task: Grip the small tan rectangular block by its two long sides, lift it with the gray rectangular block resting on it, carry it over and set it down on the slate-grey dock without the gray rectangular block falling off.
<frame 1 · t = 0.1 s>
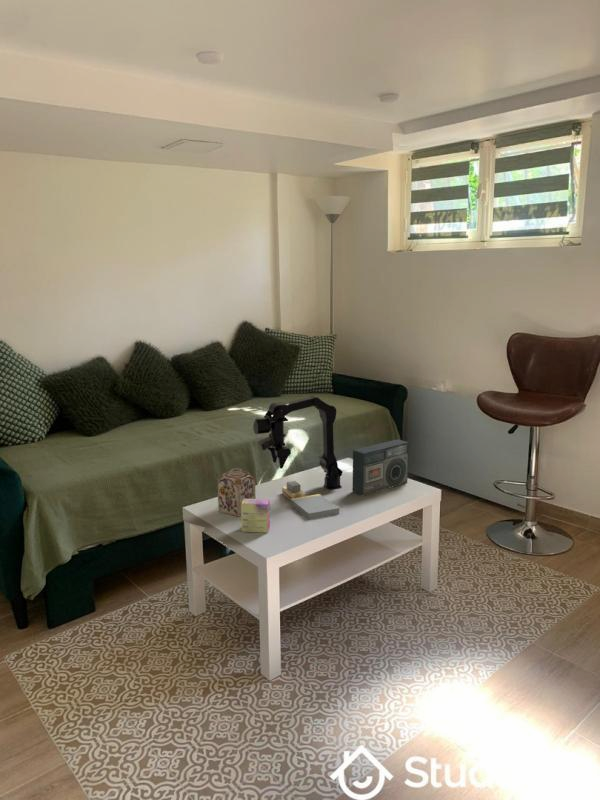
hand: (277, 465, 270), 14 cm above the table, fingers open, 9 cm apart
gray rectangular block: (293, 489, 271), point 3 cm above the table
box: (256, 530, 237), on the table
dock: (314, 508, 257), on the table
cassette player: (380, 487, 284), on the table
decorative jar: (237, 510, 257), on the table
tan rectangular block: (293, 497, 272), on the table
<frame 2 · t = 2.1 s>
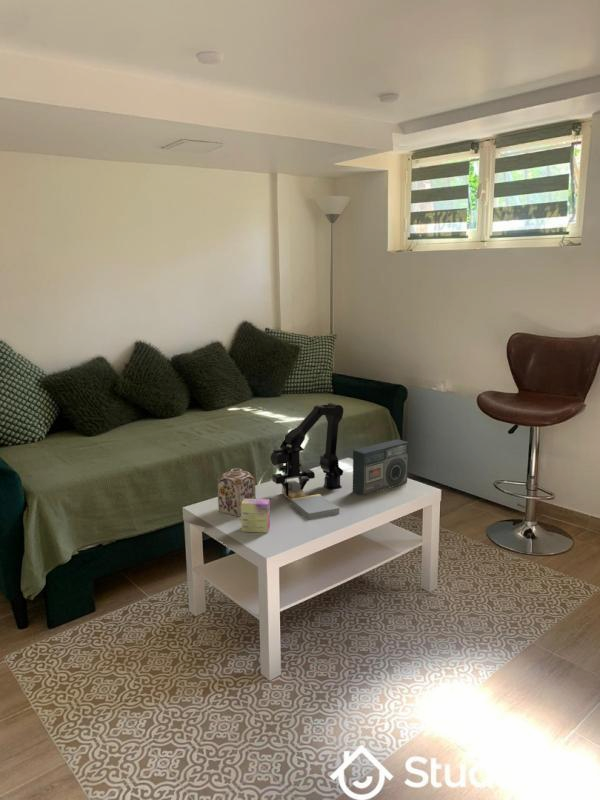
hand: (293, 494, 271), 1 cm above the table, fingers closed on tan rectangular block, 6 cm apart
gray rectangular block: (293, 489, 271), point 3 cm above the table, touching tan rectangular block
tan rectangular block: (293, 496, 272), on the table, touching gray rectangular block, gripper
everything else where it was.
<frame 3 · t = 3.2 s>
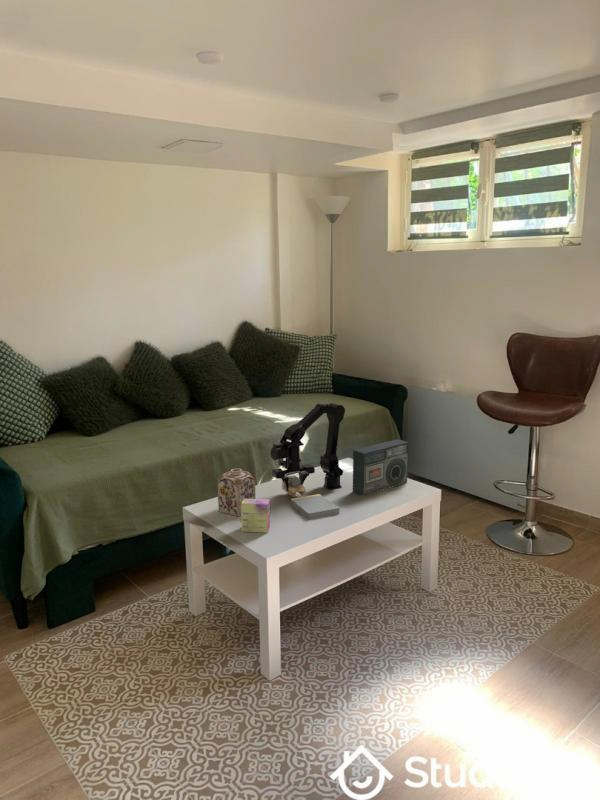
hand: (293, 489, 271), 3 cm above the table, fingers closed on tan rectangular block, 6 cm apart
gray rectangular block: (293, 484, 270), point 6 cm above the table, touching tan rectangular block
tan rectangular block: (293, 491, 271), point 2 cm above the table, touching gray rectangular block, gripper
everything else where it was.
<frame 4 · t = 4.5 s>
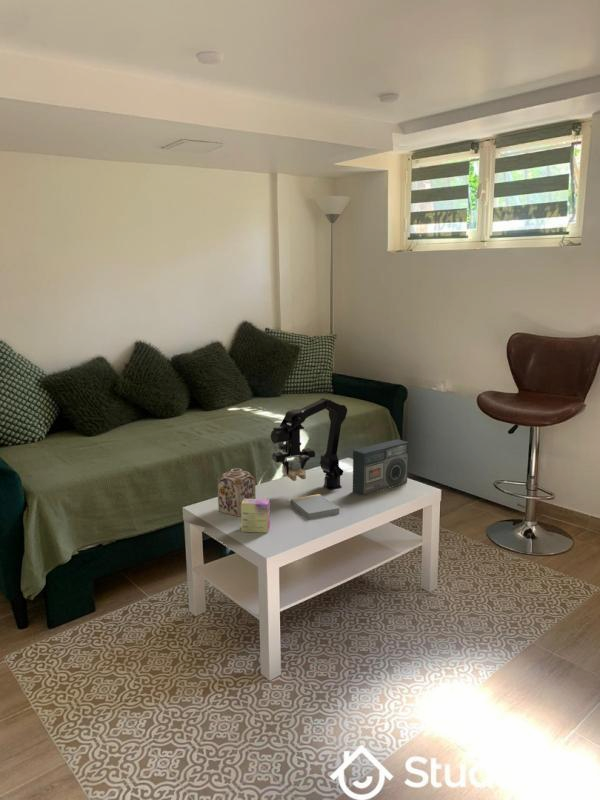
hand: (293, 473, 269), 11 cm above the table, fingers closed on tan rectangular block, 6 cm apart
gray rectangular block: (293, 468, 269), point 13 cm above the table, touching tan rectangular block
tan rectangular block: (293, 475, 269), point 10 cm above the table, touching gray rectangular block, gripper
everything else where it was.
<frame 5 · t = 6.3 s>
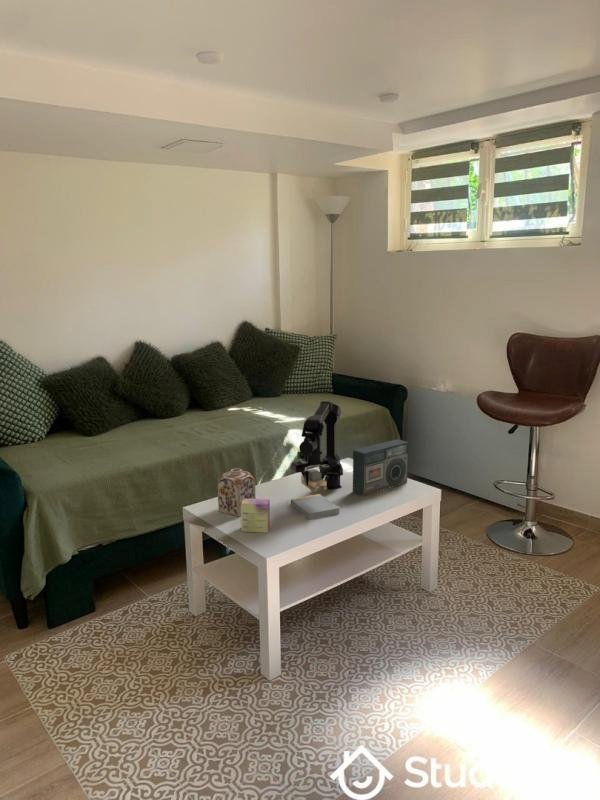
hand: (313, 484, 255), 11 cm above the table, fingers closed on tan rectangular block, 6 cm apart
gray rectangular block: (313, 478, 255), point 13 cm above the table, touching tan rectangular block
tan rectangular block: (313, 486, 256), point 10 cm above the table, touching gray rectangular block, gripper
everything else where it was.
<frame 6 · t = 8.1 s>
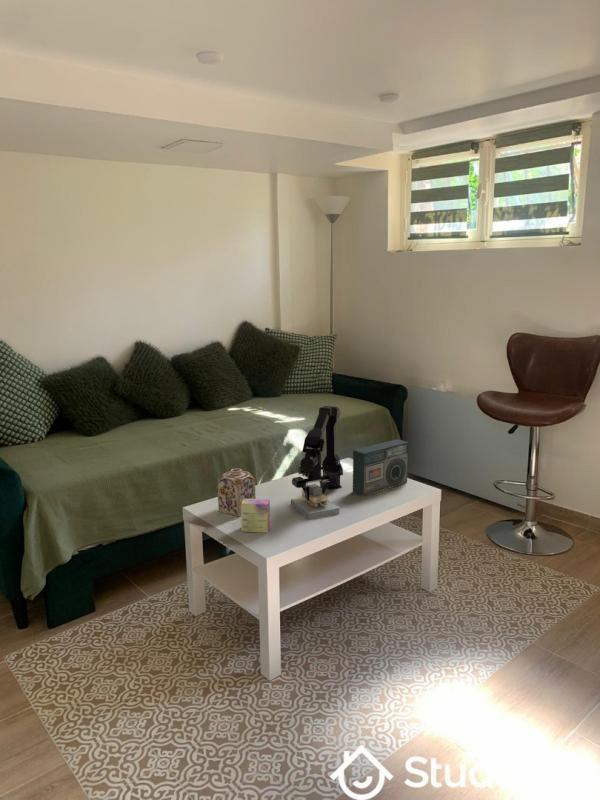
hand: (314, 498, 256), 4 cm above the table, fingers closed on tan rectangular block, 6 cm apart
gray rectangular block: (314, 493, 256), point 7 cm above the table, touching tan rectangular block
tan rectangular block: (314, 501, 257), point 3 cm above the table, touching gray rectangular block, gripper
everything else where it was.
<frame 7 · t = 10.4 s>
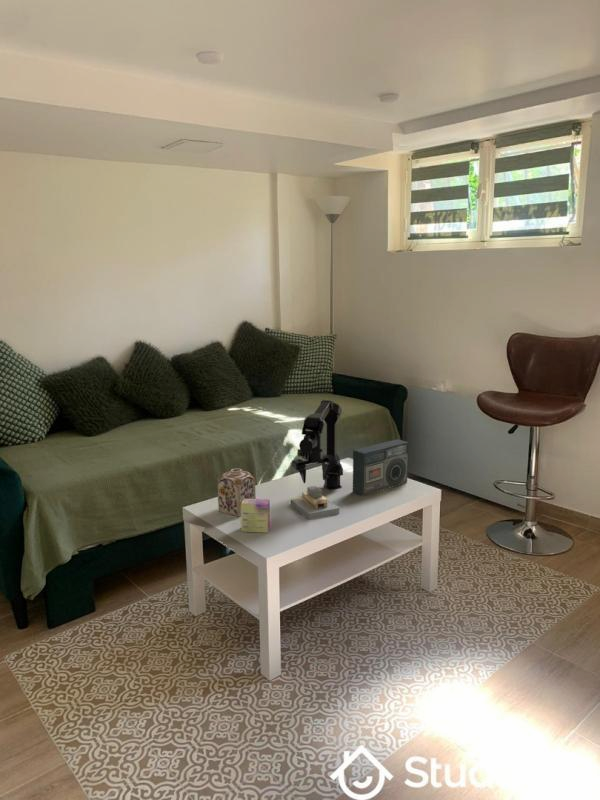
hand: (314, 481, 257), 12 cm above the table, fingers open, 9 cm apart
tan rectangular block: (314, 503, 257), point 2 cm above the table, touching gray rectangular block, dock
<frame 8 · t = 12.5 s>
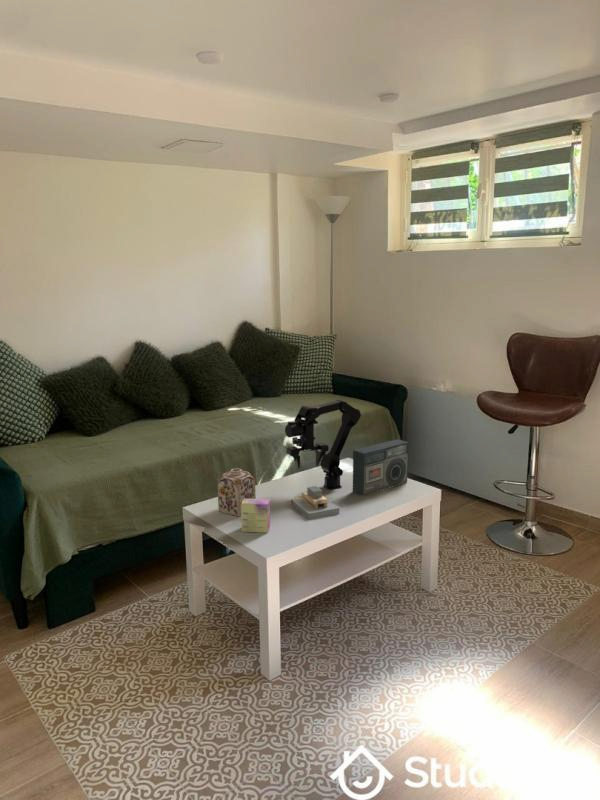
hand: (307, 467, 274), 12 cm above the table, fingers open, 9 cm apart
nothing on the table moved.
at the end: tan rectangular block inside the target area on the dock (0.1 cm from its centre), point 2.5 cm above the dock's base; gray rectangular block 0.1 cm off-centre on the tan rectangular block, point 3.5 cm above the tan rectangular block's base; the gripper is holding nothing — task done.
